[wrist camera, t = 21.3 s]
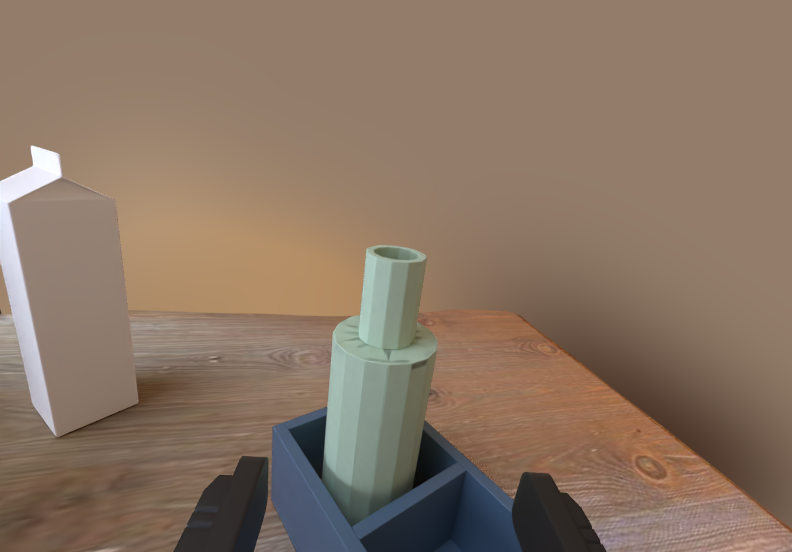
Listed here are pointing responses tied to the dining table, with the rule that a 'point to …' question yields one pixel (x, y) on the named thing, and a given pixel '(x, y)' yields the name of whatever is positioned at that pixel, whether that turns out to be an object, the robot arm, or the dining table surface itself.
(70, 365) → the milk
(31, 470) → the dining table surface
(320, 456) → the blue divided storage box
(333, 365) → the bottle
